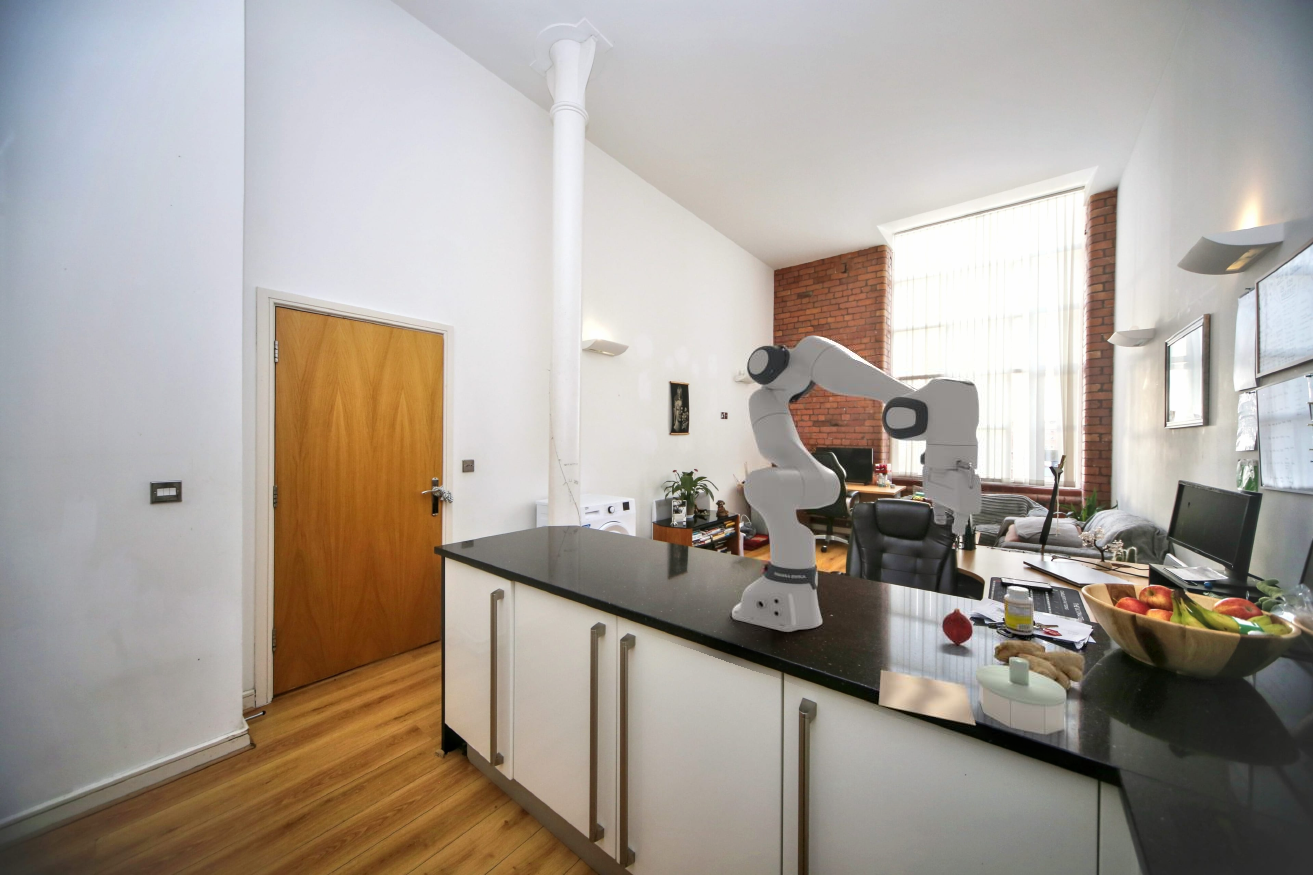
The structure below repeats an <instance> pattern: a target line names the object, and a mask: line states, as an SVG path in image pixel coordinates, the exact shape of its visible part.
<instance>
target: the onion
mask: <svg viewBox="0 0 1313 875" xmlns="http://www.w3.org/2000/svg"><path fill="white" fill-rule="evenodd" d="M941 628H942V632H943V633H944V635H945V637H946V638H947V639H948V640H950V641H951V642H953V644H955V645H957V646H959V645H961V644H964V643H966V642H967V641H969V640H970V639H971V638H972V637H973V625H972V623H971V621H970V620H969V618H968V617H967V616H966V615H964V614H963V613H962V612H961V610H960V609H959V608H957V607H956V608H954V610H953V612H950V613H948V614H947V615H946V616H945V617H944V618H943V621H942V625H941Z"/></svg>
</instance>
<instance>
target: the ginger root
mask: <svg viewBox="0 0 1313 875" xmlns="http://www.w3.org/2000/svg"><path fill="white" fill-rule="evenodd" d="M1046 649H1047V648H1046V646H1044V645H1042V644H1039V643H1037V642H1034V641H1027V640H1014V639H1013V640H1005V641H1002V642H1000V644H999V645H997V646H995V647H994V655H993V658H994V659H996V660H997V661H999V662H1001V663H1005V664H1004V666H1009V658H1010V657H1018V658H1022V659H1025V660H1027V661H1028V662H1029V671H1032V672H1035V673H1038V674H1041V675H1043V676H1045V677H1048V678H1050V679H1052V680H1054V681H1055V682H1057V683H1058V684H1060V685H1061V686H1062V687H1063V688H1064V689H1065V691H1066V692H1067V691H1069V690H1070V689H1071V684H1072V683H1071V681H1072V682H1073V683H1074V682H1075V683H1080V682H1081V681H1082V680H1083V678H1084V676H1083V673H1082V671H1084V670H1085V663H1086V659H1085V657H1084V655H1082V654H1078V653H1075V652H1070V651H1064V650H1063V651H1061V650H1060V651H1058V650H1055V651H1046Z"/></svg>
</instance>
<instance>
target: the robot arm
mask: <svg viewBox="0 0 1313 875" xmlns="http://www.w3.org/2000/svg"><path fill="white" fill-rule="evenodd" d="M746 371H747V374H748V376H749V377H750V379H752V381H754V382H755V383H757V384H758V385H760V386H761V385H762V386H761V388H759V389H757V390H755V391H754V392H752V394H750V397H749V399H748V411H749V412H748V413H749V414H748V415H749V419H750V424H751V429H752V431H753V436H754V439H755V443H756V446H757V449H758V452H759V454H760V455H761V456H762V457H763V459H765V460H767V461H768V462H771V463H772V464H774V465H776V466H769V467H764V468H759V469H755V470H752V471H750V472H749V473H748V475H747V476H746V478H745V480H744V484H743V494H744V497H745V499H746V501H747V503H748V504H749V505H750V506H751V507H752V508H753V509H754V510H756V512H758V513H759V515H760V516H761V517H762V519H763V521H764V523H765V525H766V527H767V532H768V537H769V547H770V548H769V549H770V550H769V551H770V554H769V556H770V558H768V559H766V560H765V561H764V562H763V563H764V564H762V567H761V571H762V576H761V577H759V578H757V579H756V580H754V581H753V582H751V584H749V585H747V587H746V588H745V589H744V591H743V593H742V595H741V599H740V602H739V603H738V604H736V605H735V606H734V607H733V608H732V610H731V618H732V619H733V620H735V621H738V622H739V621H740V622H745V623H748V624H751V625H756V626H759V627H760V626H761V627H764V628H768V629H773V630H777V631H780V632H787V633H789V632H790V633H791V632H795V631H797V630H809V629H814V628H817V627H819V626H821V625H822V624H823V618H822V615H821V610H820V607H819V600H818V595H817V594H818V593H817V588H818V583H819V581H818V578H819V576H818V575H819V574H818V573H819V572H818V565H817V564H816V537H815V534H814V533H813V532H812V530H811V529H810V528H809V527H807V526H805V525H804V524H802V523H800V522H799V520H798V517H797V510H809V509H811V510H813V509H820V508H824V507H826V506H830V505H833V504H835V503H836V502H837V501H838V498H839V497H840V493H841V483H840V479H839V477H838V475H837V474H836V472H835V471H833V469H830V468H829V467H827V466H825V465H823V464H822V463H821V462H819V461H818V460H817V459H816V458H815V457H814V456H813V455H812V454H811V452H809V451H808V449H807V448H806V447H805V446H804V444H803V442H802V441H801V438H800V435H799V433H798V430H797V428H796V425H795V422H794V419H793V416H792V414H791V411H790V408H789V403H797V402H798V401H799V400H800V399H801V398H804V397H805V396H808V394H809V393H811V392H812V390H814V388H815V387H816V385H817V386H819V387H820V388H822V389H823V390H826V391H828V392H830V393H832V394H836V395H838V396H847V397H858V398H865V399H866V398H867V399H870V400H875V401H878V402H881V403H883V404H885V406H884V408H883V411H882V414H881V423H882V426H883V430H884V431H885V433H886V434H887V435H888V436H890V437H891V438H893V439H896V440H899V441H904V442H905V441H906V442H907V441H911V442H913V441H915V442H921V441H925V451H924V452H923V453H921V454H920V456H919V458H920V459H919V464H920V465H922V474H921V476H922V492H923V495H924V498H926V499H927V500H930V501H931V504H932V506H931V507H932V511H933V515H934V518H933V519H934V520H933V521H934V523H936V525H937V524H938V525H946V524H947V515H946V511H945V510H946V509H949V510H952V511H953V516H954V520H953V523H951V533H952V534H955V535H958V536H959V535H960V536H964V535H965V534H966V526H967V524H968V522H969V519H970V515H979V514H980V513H981V510H982V506H983V505H982V500H983V499H982V484H981V478H980V475H979V473H977V472H976V470H977V469H978V462H979V461H978V459H979V457H978V456H979V454H978V453H979V442H978V438H977V430H978V425H979V422H980V402H979V401H980V400H979V392H978V389H977V387H976V384H975V383H974V382H972V381H971V380H968V379H965V378H964V379H963V378H956V377H955V378H954V377H947V376H946V377H943V376H938V377H934V378H932V379H931V380H930V381H929V382H928V383H927V384H926V385H924V386H922V387H920V388H916V387H914V386H911V385H910V384H907V383H906V382H903V381H901V380H900V379H898V378H896V377H893V376H892V375H890V374H888V373H886V372H885V371H882V369H880V368H878V367H876V366H874V365H873V364H871V363H869V362H868V361H867V360H865V359H864V358H861V356H859V355H857V354H856V353H854V352H853V351H851V350H849V349H848V348H846V347H845V346H843V345H842V344H839V343H837V342H835V341H833V340H830V339H828V338H826V337H823V336H819V335H808V336H806V337H803V338H802V339H801V340H800V341H799V342H798V343H797V344H796V346H795V347H794V348H792V349H791V348H788V347H787V346H786V345H785V344H781V345H779V344H778V345H763V346H759V347H757V348H756V349H754V350H753V352H752V353H751V354H750V356H749V358H748V361H747V364H746ZM945 508H946V509H945Z"/></svg>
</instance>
